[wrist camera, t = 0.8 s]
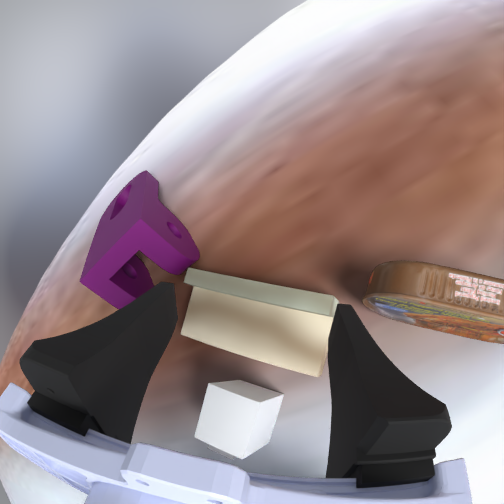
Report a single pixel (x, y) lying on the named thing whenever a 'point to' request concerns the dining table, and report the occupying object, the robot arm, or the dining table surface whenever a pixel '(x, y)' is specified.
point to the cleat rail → (260, 320)
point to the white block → (237, 417)
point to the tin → (438, 299)
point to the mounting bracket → (135, 244)
